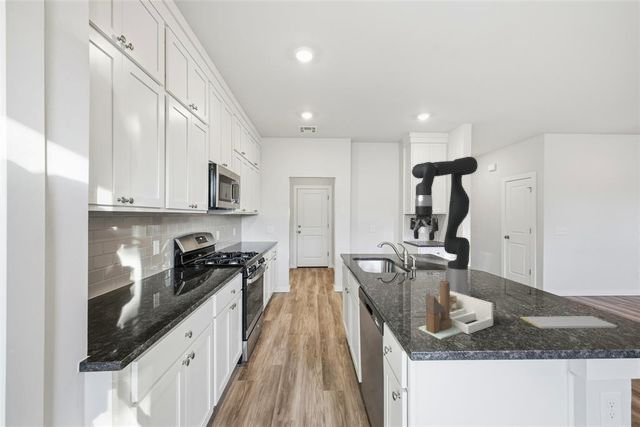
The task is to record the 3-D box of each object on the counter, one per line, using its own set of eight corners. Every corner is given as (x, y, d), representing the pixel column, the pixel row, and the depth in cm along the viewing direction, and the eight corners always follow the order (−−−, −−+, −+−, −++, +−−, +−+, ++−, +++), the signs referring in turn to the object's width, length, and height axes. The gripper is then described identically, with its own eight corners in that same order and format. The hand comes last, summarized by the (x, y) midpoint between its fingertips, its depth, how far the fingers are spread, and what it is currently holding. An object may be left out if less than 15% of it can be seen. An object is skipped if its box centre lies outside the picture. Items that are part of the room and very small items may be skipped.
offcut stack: (448, 312, 119) (448, 293, 119) (458, 316, 115) (458, 296, 115) (435, 316, 115) (435, 295, 115) (445, 320, 110) (445, 299, 110)
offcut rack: (450, 309, 122) (450, 290, 122) (493, 325, 105) (493, 303, 105) (426, 316, 114) (426, 296, 114) (468, 334, 98) (468, 310, 98)
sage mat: (439, 322, 108) (439, 321, 108) (461, 332, 99) (461, 330, 99) (418, 328, 102) (418, 327, 102) (440, 339, 93) (440, 337, 93)
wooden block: (425, 330, 100) (425, 283, 100) (443, 324, 105) (443, 279, 105) (433, 334, 96) (434, 285, 96) (451, 327, 102) (452, 282, 102)
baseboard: (517, 317, 114) (540, 330, 102) (517, 311, 114) (540, 322, 102) (585, 316, 115) (617, 329, 103) (585, 310, 115) (617, 322, 103)
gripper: (442, 205, 117) (442, 240, 118) (417, 205, 130) (417, 238, 130) (430, 204, 114) (430, 241, 114) (406, 205, 127) (406, 238, 127)
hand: (423, 239), depth 122 cm, fingers open, 8 cm apart
